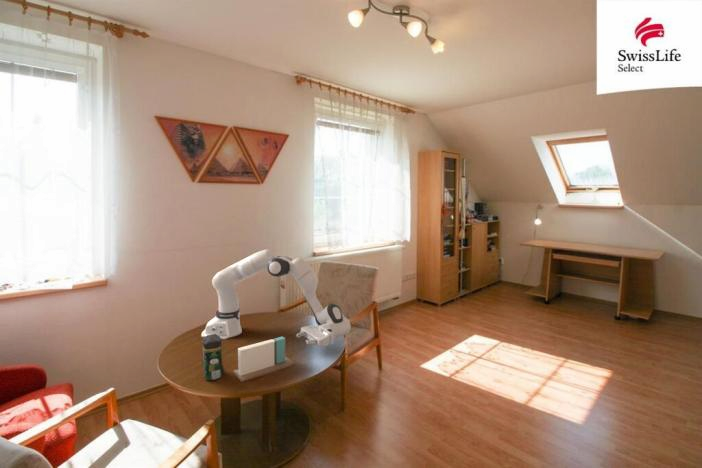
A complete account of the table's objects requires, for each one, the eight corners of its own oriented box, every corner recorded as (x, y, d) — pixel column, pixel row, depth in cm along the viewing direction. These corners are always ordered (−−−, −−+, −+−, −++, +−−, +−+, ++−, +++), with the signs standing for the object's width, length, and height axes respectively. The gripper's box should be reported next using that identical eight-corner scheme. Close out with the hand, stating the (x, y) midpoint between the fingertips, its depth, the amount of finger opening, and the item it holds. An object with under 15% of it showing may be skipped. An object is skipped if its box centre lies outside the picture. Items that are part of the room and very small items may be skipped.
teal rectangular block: (276, 364, 166) (275, 341, 165) (273, 361, 169) (273, 338, 167) (285, 361, 170) (285, 338, 168) (282, 358, 172) (282, 336, 170)
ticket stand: (241, 382, 153) (240, 354, 151) (233, 372, 161) (233, 345, 159) (293, 365, 169) (293, 339, 167) (284, 357, 176) (284, 332, 175)
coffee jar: (203, 372, 160) (201, 334, 158) (221, 368, 164) (220, 331, 161) (204, 382, 152) (203, 342, 149) (223, 378, 155) (222, 339, 153)
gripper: (314, 321, 192) (291, 326, 183) (335, 333, 176) (311, 340, 167) (314, 331, 193) (292, 338, 184) (335, 344, 177) (312, 352, 168)
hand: (301, 339), depth 176 cm, fingers open, 8 cm apart
